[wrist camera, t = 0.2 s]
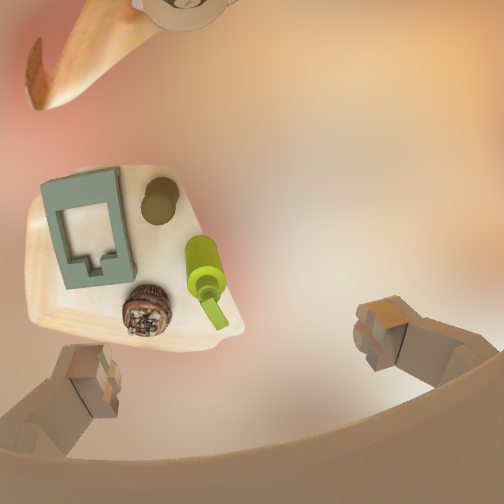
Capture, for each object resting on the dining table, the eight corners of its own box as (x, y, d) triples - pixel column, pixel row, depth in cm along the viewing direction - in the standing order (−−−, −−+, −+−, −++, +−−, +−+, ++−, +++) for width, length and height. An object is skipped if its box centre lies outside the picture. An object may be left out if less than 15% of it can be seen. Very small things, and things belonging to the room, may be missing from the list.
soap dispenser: (196, 273, 60) (204, 338, 42) (180, 243, 57) (180, 301, 39) (223, 260, 60) (243, 321, 42) (208, 230, 57) (222, 282, 39)
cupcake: (128, 320, 61) (122, 350, 52) (124, 279, 57) (115, 307, 48) (173, 320, 63) (173, 351, 54) (171, 279, 60) (171, 307, 51)
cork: (150, 214, 54) (144, 235, 44) (141, 183, 51) (131, 197, 41) (182, 205, 54) (183, 224, 44) (174, 173, 52) (171, 184, 42)
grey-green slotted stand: (50, 180, 47) (40, 185, 43) (119, 166, 49) (114, 170, 45) (72, 278, 55) (66, 289, 51) (137, 270, 57) (134, 281, 53)
